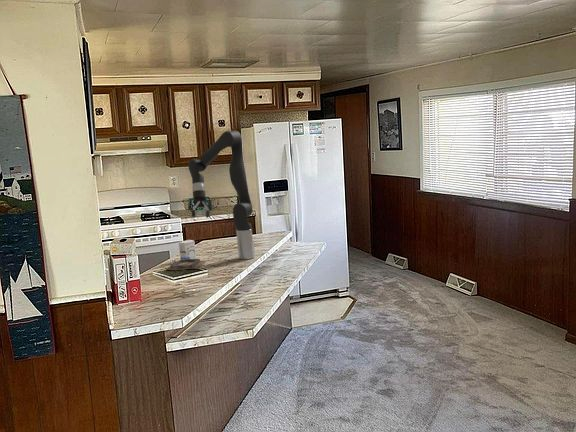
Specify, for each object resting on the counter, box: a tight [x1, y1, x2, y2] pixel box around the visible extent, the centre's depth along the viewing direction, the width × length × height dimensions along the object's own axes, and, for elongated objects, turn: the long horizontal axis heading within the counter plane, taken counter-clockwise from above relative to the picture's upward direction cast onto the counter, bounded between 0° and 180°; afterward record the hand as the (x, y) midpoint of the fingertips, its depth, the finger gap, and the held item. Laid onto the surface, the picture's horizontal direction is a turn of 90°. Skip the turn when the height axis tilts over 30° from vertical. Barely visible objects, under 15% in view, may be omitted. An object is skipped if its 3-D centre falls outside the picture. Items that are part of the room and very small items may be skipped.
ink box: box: [178, 239, 197, 260], centre depth 319 cm, size 9×5×12 cm, turn 143°
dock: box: [165, 258, 207, 270], centre depth 304 cm, size 18×18×4 cm
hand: (200, 217), depth 316 cm, fingers open, 8 cm apart
